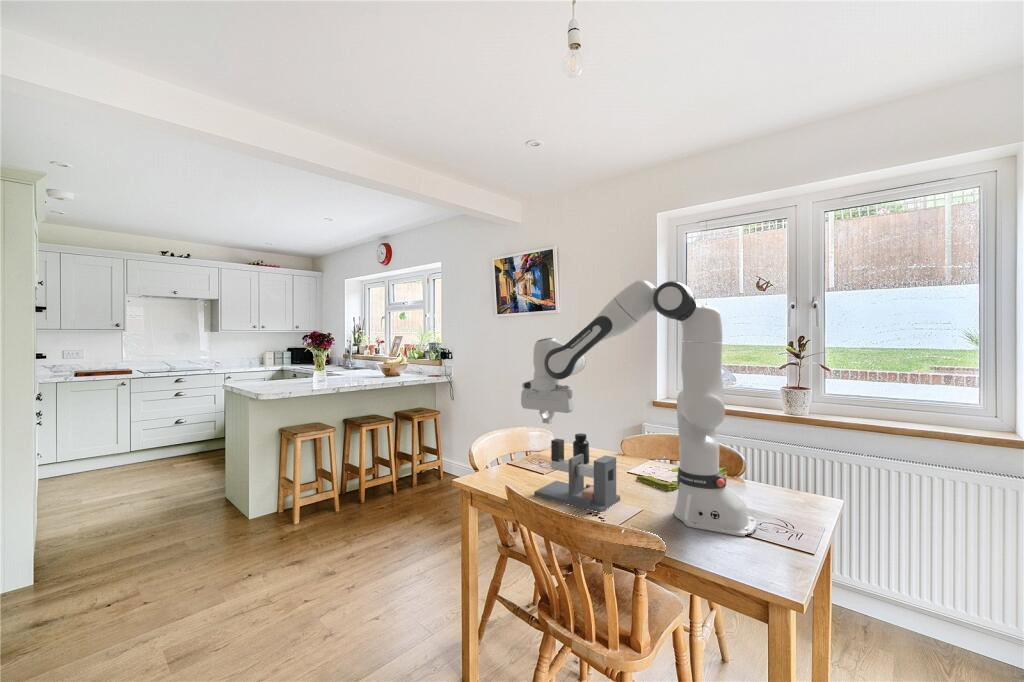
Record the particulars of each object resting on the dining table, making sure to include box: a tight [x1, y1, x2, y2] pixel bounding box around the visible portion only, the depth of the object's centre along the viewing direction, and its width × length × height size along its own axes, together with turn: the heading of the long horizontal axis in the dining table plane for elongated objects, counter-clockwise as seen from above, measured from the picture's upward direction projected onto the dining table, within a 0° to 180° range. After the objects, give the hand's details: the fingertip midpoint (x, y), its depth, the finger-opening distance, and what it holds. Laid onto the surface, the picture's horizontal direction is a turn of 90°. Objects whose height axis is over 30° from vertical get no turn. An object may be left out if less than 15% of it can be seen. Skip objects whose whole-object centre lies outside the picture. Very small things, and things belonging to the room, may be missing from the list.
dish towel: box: [636, 466, 728, 493], centre depth 172 cm, size 15×36×3 cm, turn 123°
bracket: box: [534, 454, 621, 513], centre depth 151 cm, size 25×14×15 cm, turn 52°
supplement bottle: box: [572, 433, 590, 465], centre depth 192 cm, size 7×7×12 cm
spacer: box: [582, 486, 594, 502], centre depth 148 cm, size 4×6×2 cm, turn 140°
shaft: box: [550, 438, 594, 479], centre depth 151 cm, size 19×4×10 cm, turn 52°
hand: (547, 423), depth 158 cm, fingers closed
